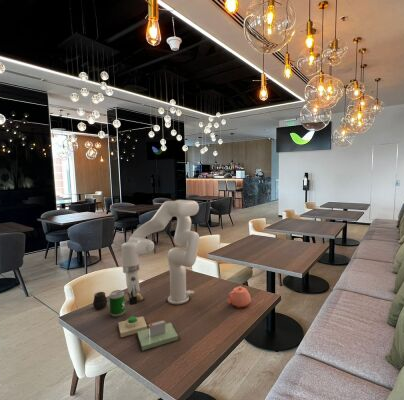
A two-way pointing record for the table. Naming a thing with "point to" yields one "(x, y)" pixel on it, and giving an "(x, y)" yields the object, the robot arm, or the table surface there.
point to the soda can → (117, 303)
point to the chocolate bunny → (137, 296)
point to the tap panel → (157, 337)
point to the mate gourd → (99, 300)
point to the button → (132, 319)
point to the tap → (156, 328)
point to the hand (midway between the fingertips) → (133, 303)
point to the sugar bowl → (239, 297)
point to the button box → (132, 326)
